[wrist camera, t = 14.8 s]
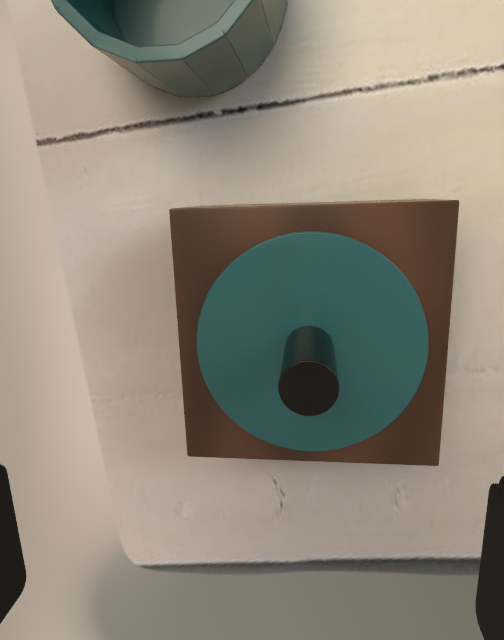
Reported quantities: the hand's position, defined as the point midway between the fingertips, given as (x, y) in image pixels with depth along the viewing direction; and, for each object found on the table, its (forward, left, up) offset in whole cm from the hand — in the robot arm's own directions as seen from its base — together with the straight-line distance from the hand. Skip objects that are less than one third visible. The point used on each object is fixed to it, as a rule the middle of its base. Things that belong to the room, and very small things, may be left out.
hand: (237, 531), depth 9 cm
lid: (+1, -2, -17) cm, 17 cm away
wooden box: (+1, -2, -25) cm, 25 cm away
